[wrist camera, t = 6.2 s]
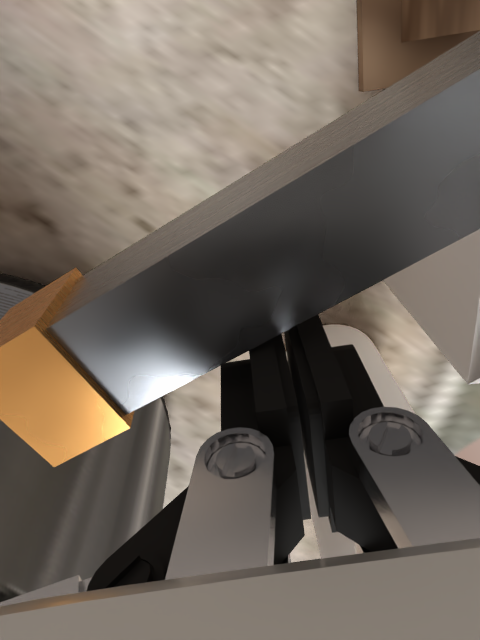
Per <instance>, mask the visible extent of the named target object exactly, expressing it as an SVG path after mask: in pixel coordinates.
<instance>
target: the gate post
mask: <svg viewBox="0 0 480 640" xmlns="http://www.w3.org/2000/svg"><path fill="white" fill-rule="evenodd" d="M357 28H358V72H359V91H362V92H365V91H371V90H377V89H383V88H388V87H390V86H391V85H393V84H394V83H396V82H398V81H399V80H401V79H403V78H404V77H406V76H407V75H409V74H411V73H412V72H414V71H416V70H417V69H419V68H420V67H422V66H424V65H425V64H427V63H429V62H430V61H432V60H433V59H435V58H437V57H438V56H440V55H442V54H443V53H445V52H446V51H448V50H450V49H451V48H453V47H455V46H456V45H458V44H459V43H461V42H463V41H464V40H466V39H468V38H469V37H471V36H472V35H474V34H476V33H477V32H479V31H480V0H357Z"/></svg>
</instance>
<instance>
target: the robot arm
mask: <svg viewBox="0 0 480 640" xmlns="http://www.w3.org/2000/svg"><path fill="white" fill-rule="evenodd" d="M284 333H285V342H286V350H287V356H286V352H285V348H284V344H283V339H282V335H281V334H279V335H277V336H275V337H274V338H272V339H270V340H268V341H266V342H264V343H262V344H260V345H258V346H256V347H255V348H253V349H251V350H249V354H250V359H248V360H241V361H235V362H228V363H224V364H222V365H221V432H218V433H216V434H215V435H213V436H212V437H210V438H209V439H207V440H206V442H205V443H204V444H203V445H202V446H201V447H200V449H199V451H198V454H197V456H196V460H195V464H194V468H193V472H192V476H191V479H190V483H189V486H188V487H187V488H186V489H185V490H184V491H183V492H182V493H180V494H179V495H178V496H177V497H176V498H175V499H174V500H173V501H171V502H170V503H169V504H168V505H167V506H166V507H165V508H164V509H162V510H161V511H160V512H159V513H158V514H157V515H156V516H155V517H153V518H152V519H151V520H150V521H149V522H148V523H147V524H146V525H145V526H143V527H142V528H141V529H140V530H139V531H138V532H137V533H136V534H134V535H133V536H132V537H131V538H130V539H129V540H128V541H127V542H125V543H124V544H123V545H122V546H121V547H120V548H119V549H118V550H116V551H115V552H114V553H113V554H112V555H111V556H110V557H109V558H107V559H106V560H105V561H104V563H103V564H102V565H101V566H100V567H99V568H98V569H97V570H96V572H95V573H94V575H93V577H91V578H88V579H85V580H81V578H80V576H79V575H77V576H74V577H71V578H68V579H65V580H62V581H60V582H57V583H54V584H51V585H48V586H45V587H43V588H40V589H37V590H34V591H31V592H28V593H26V594H23V595H20V596H17V597H14V598H12V599H9V600H6V601H3V602H0V640H480V466H478V465H476V464H473V463H471V462H468V461H466V460H463V459H461V458H458V457H456V456H454V455H453V453H452V452H451V451H450V450H449V449H448V447H447V446H446V445H445V444H444V443H443V442H442V440H441V439H440V438H439V437H438V436H437V434H436V433H435V432H434V431H433V430H432V429H431V427H430V426H429V425H428V424H427V423H426V422H425V421H424V420H423V419H422V418H420V417H419V416H418V415H416V414H414V413H412V412H410V411H408V410H404V409H400V408H396V407H384V405H383V403H382V401H381V399H380V397H379V395H378V393H377V391H376V389H375V387H374V385H373V383H372V381H371V379H370V377H369V375H368V373H367V371H366V369H365V367H364V365H363V363H362V361H361V359H360V357H359V355H358V353H357V351H356V349H355V347H354V346H353V345H352V344H349V345H342V346H336V347H331V345H330V342H329V340H328V338H327V335H326V333H325V330H324V328H323V325H322V323H321V320H320V318H319V316H318V314H317V315H315V316H314V317H312V318H310V319H308V320H306V321H304V322H302V323H300V324H298V325H296V326H295V327H293V328H291V329H289V330H287V331H285V332H284ZM287 358H288V361H287ZM303 450H304V451H303ZM304 455H305V459H306V464H307V468H308V472H309V477H310V481H311V486H312V490H313V495H314V499H315V504H316V508H317V513H318V516H319V518H320V517H327V516H328V518H329V522H330V526H331V530H332V533H335V532H339V533H341V534H342V535H344V536H346V537H347V538H349V539H351V540H352V541H354V547H355V550H356V554H353V555H345V556H337V557H330V558H322V559H315V560H307V561H300V562H292V563H291V559H290V552H291V551H292V550H293V549H294V548H295V546H296V545H297V544H298V543H299V541H300V540H301V539H302V538H303V537H304V535H305V534H304V526H303V520H305V519H311V512H310V503H309V494H308V486H307V477H306V468H305V459H304Z"/></svg>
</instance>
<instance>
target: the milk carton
mask: <svg viewBox="0 0 480 640" xmlns="http://www.w3.org/2000/svg"><path fill="white" fill-rule="evenodd" d="M383 281H384V282H385V284H386V285H387V286H388V287H389V289H390V290H391V291H392V292H393V293H394V295H395V296H396V297H397V298H398V300H399V301H400V302H401V303H402V305H403V306H404V307H405V308H406V309H407V311H408V312H409V313H410V314H411V316H412V317H413V318H414V319H415V320H416V322H417V323H418V324H419V325H420V327H421V328H422V329H423V330H424V331H425V333H426V334H427V335H428V336H429V338H430V339H431V340H432V341H433V343H434V344H435V345H436V346H437V347H438V349H439V350H440V351H441V352H442V354H443V355H444V356H445V357H446V358H447V360H448V361H449V362H450V363H451V365H452V366H453V367H454V368H455V369H456V371H457V372H458V373H459V374H460V375H461V377H462V378H463V379H464V380H465V381H466V382H467V384H475V383H480V229H479V230H477V231H475V232H473V233H471V234H470V235H468V236H466V237H464V238H462V239H460V240H458V241H456V242H454V243H452V244H451V245H449V246H447V247H445V248H443V249H441V250H439V251H437V252H435V253H433V254H431V255H430V256H428V257H426V258H424V259H422V260H420V261H418V262H416V263H414V264H412V265H411V266H409V267H407V268H405V269H403V270H401V271H399V272H397V273H395V274H393V275H392V276H390V277H388V278H386V279H384V280H383Z"/></svg>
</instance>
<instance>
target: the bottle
mask: <svg viewBox="0 0 480 640" xmlns="http://www.w3.org/2000/svg"><path fill="white" fill-rule="evenodd" d="M323 328H324V330H325V333H326V335H327V338H328V340H329V342H330V345H331V347H336V346H342V345H349V344H352V345H353V346H354V347H355V349H356V351H357V353H358V355H359V357H360V359H361V361H362V363H363V365H364V367H365V369H366V371H367V373H368V375H369V377H370V379H371V381H372V383H373V385H374V387H375V389H376V391H377V393H378V395H379V397H380V399H381V401H382V403H383V405H384V407H396V408H400V409H404V410H408V411H410V412H412V413H414V414H415V412H414V411H413V409H412V407H411V406H410V404H409V402H408V401H407V399H406V397H405V395H404V394H403V392H402V390H401V389H400V387H399V385H398V384H397V382H396V380H395V379H394V377H393V375H392V374H391V372H390V370H389V368H388V367H387V365H386V363H385V362H384V360H383V358H382V357H381V355H380V353H379V352H378V350H377V348H376V347H375V345H374V343H373V342H372V341H371V339H370V338H369V337H368V336H367V335H366V334H364V333H363V332H361V331H360V330H358V329H356V328H353V327H350V326H346V325H340V324H330V325H324V326H323ZM286 356H287V351H286ZM287 361H288V358H287ZM303 451H304V450H303ZM304 459H305V455H304ZM305 468H306V477H307V486H308V494H309V503H310V511H311V515H312V520H313V524H314V529H315V533H316V538H317V542H318V547H319V551H320V556H321V559H322V558H330V557H337V556H345V555H353V554H356V550H355V547H354V541H352V540H351V539H349V538H347V537H346V536H344V535H342V534H341V533H339V532H335V533H332V530H331V526H330V522H329V518H328V516H327V517H320V518H319V516H318V513H317V508H316V504H315V499H314V495H313V490H312V486H311V481H310V477H309V472H308V468H307V464H306V459H305Z"/></svg>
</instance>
